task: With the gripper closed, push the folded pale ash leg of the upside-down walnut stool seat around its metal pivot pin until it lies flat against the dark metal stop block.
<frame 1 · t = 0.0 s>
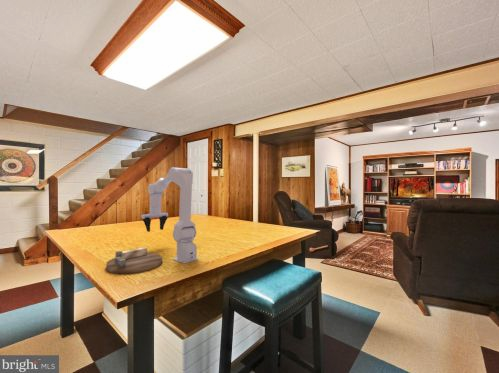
hand: (155, 230, 130), 10 cm above the table, tool pointing down, fingers open, 7 cm apart
folding leg: (131, 253, 107), point 4 cm above the table, hinge at 90.0°
stool seat: (135, 264, 103), on the table
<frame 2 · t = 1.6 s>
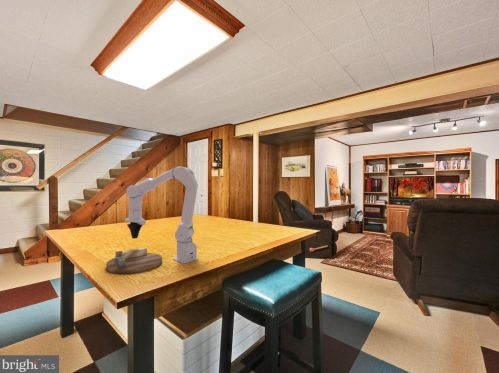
hand: (134, 238, 114), 9 cm above the table, tool pointing down, fingers closed
nothing on the table moved.
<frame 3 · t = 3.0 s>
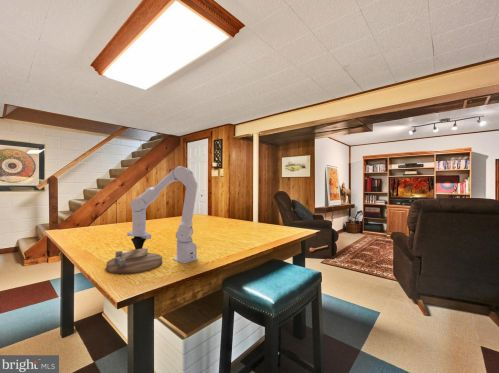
hand: (138, 252, 111), 3 cm above the table, tool pointing down, fingers closed
folding leg: (131, 253, 107), point 4 cm above the table, hinge at 86.1°, touching gripper
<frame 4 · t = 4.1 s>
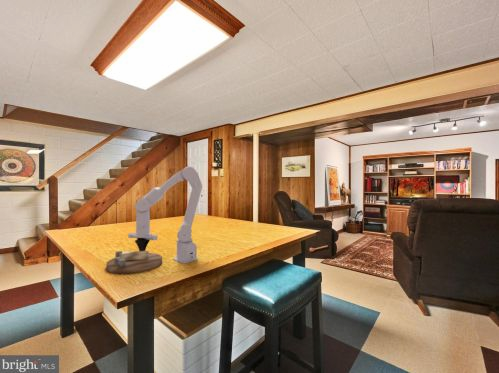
hand: (142, 254, 108), 3 cm above the table, tool pointing down, fingers closed, pressing on folding leg
folding leg: (132, 255, 104), point 4 cm above the table, hinge at 55.0°, touching gripper
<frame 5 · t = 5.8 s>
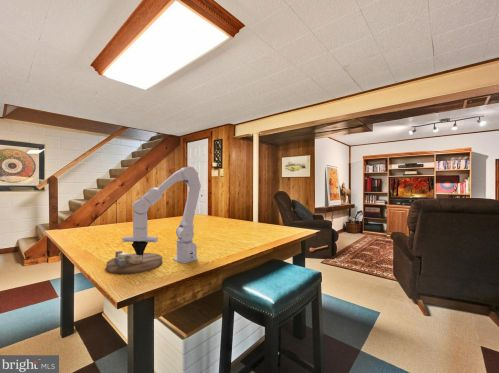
hand: (140, 258, 102), 3 cm above the table, tool pointing down, fingers closed
folding leg: (128, 257, 101), point 4 cm above the table, hinge at 19.2°, touching gripper
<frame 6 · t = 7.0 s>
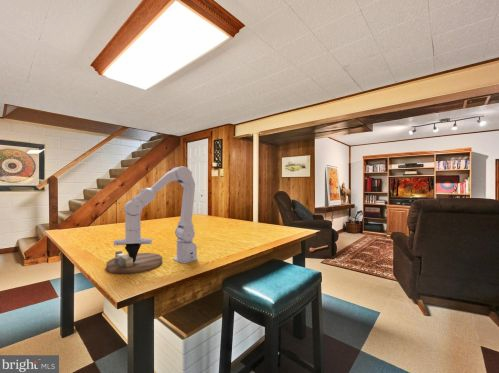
hand: (133, 261, 99), 3 cm above the table, tool pointing down, fingers closed
folding leg: (123, 258, 99), point 4 cm above the table, hinge at -2.1°, touching gripper, stool seat
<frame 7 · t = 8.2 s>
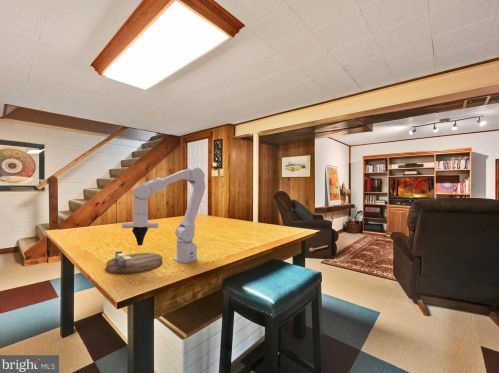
hand: (140, 244, 101), 9 cm above the table, tool pointing down, fingers closed
folding leg: (123, 258, 99), point 4 cm above the table, hinge at -2.0°
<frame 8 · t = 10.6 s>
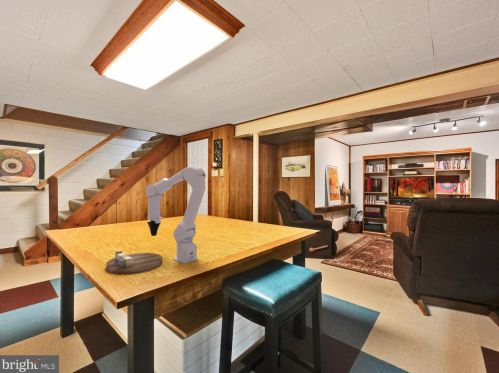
hand: (153, 235, 119), 9 cm above the table, tool pointing down, fingers closed
nothing on the table moved.
at the end: folding leg at -2° (first picture: +90°) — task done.
